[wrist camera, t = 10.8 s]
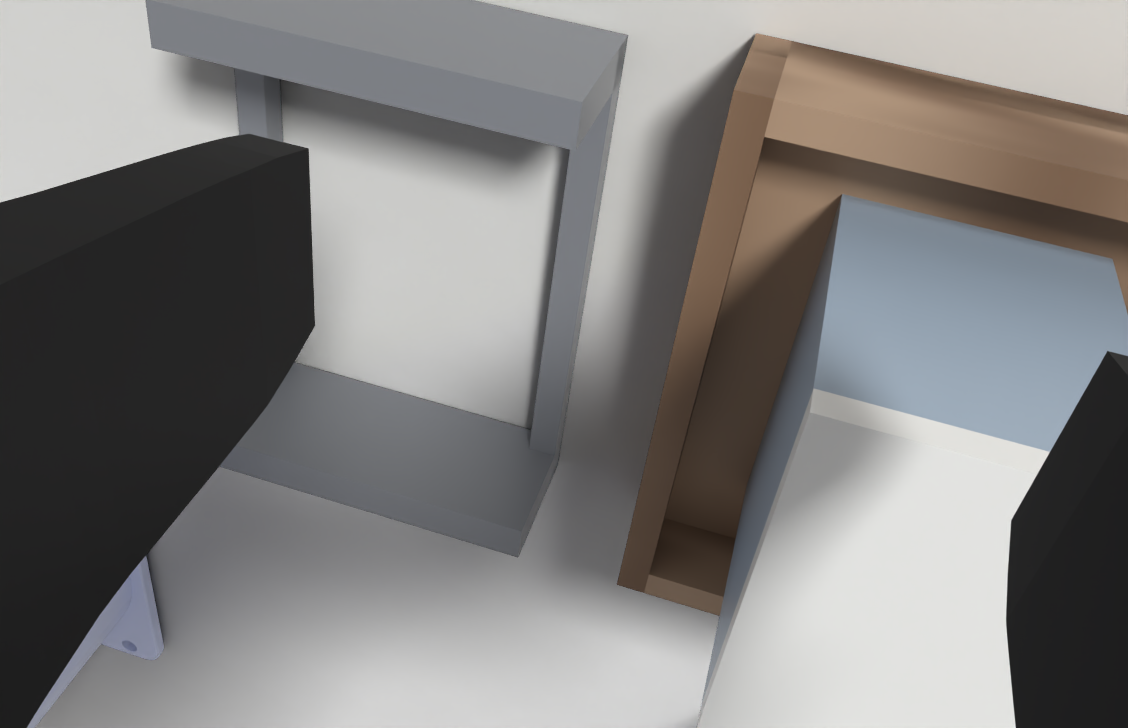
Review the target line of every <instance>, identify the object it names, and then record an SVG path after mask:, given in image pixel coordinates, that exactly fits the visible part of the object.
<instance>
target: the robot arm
mask: <svg viewBox="0 0 1128 728" xmlns="http://www.w3.org/2000/svg"><path fill="white" fill-rule="evenodd" d="M314 326H315V316H314V288H313V260H312V232H311V204H310V176H309V149H308V148H304V147H300V146H296V145H292V144H288V143H284V142H280V141H276V140H272V139H268V138H264V137H260V136H256V135H253V134H244V135H238V136H233V137H227V138H223V139H218V140H214V141H210V142H206V143H202V144H198V145H195V146H191V147H187V148H184V149H180V150H177V151H173V152H170V153H166V154H163V155H160V156H156V157H153V158H150V159H146V160H143V161H140V162H136V163H133V164H130V165H126V166H123V167H120V168H117V169H113V170H110V171H107V172H103V173H100V174H97V175H93V176H90V177H87V178H83V179H80V180H77V181H74V182H70V183H67V184H64V185H60V186H57V187H54V188H50V189H47V190H44V191H40V192H37V193H34V194H30V195H27V196H23V197H19V198H15V199H12V200H8V201H4V202H1V203H0V728H35V727H36V726H37V724H38V723H39V722H40V721H41V719H42V718H43V717H44V715H45V714H46V713H47V712H48V710H49V709H50V708H51V707H52V705H53V704H54V703H55V701H56V700H57V699H58V698H59V696H60V695H61V694H62V693H63V691H64V690H65V689H66V688H67V686H68V685H69V684H70V682H71V681H72V680H73V679H74V677H75V676H76V675H77V674H78V672H79V671H80V670H81V669H82V667H83V666H84V665H85V663H86V662H87V661H88V660H89V658H90V657H91V656H92V655H93V653H94V652H95V651H96V650H97V648H98V647H99V646H100V644H102V645H105V646H108V647H111V648H114V649H117V650H120V651H123V652H126V653H129V654H132V655H135V656H138V657H140V658H143V659H147V660H156V659H157V658H158V657H159V656H160V654H161V653H162V652H163V650H164V644H163V639H162V634H161V629H160V624H159V619H158V613H157V608H156V603H155V598H154V593H153V588H152V583H151V578H150V573H149V568H148V562H147V557H146V555H147V554H148V552H149V551H150V550H151V549H152V547H153V546H154V545H155V544H156V543H157V541H158V540H159V539H160V538H161V536H162V535H163V534H164V533H165V532H166V530H167V529H168V528H169V527H170V525H171V524H172V523H173V522H174V521H175V519H176V518H177V517H178V516H179V515H180V513H181V512H182V511H183V510H184V508H185V507H186V506H187V505H188V504H189V502H190V501H191V500H192V499H193V497H194V496H195V495H196V494H197V493H198V491H199V490H200V489H201V488H202V487H203V485H204V484H205V483H206V482H207V480H208V479H209V478H210V477H211V476H212V474H213V473H214V472H215V471H216V470H217V468H218V467H219V466H220V465H221V463H222V462H223V461H224V460H225V458H226V457H227V456H228V455H229V453H230V452H231V451H232V450H233V448H234V447H235V446H236V445H237V444H238V442H239V441H240V440H241V439H242V437H243V436H244V435H245V434H246V432H247V431H248V430H249V429H250V427H251V426H252V425H253V424H254V422H255V421H256V420H257V418H258V417H259V416H260V415H261V413H262V412H263V411H264V409H265V408H266V407H267V406H268V404H269V403H270V401H271V399H272V398H273V396H274V394H275V393H276V391H277V390H278V388H279V386H280V385H281V383H282V382H283V380H284V378H285V377H286V375H287V373H288V372H289V370H290V369H291V367H292V365H293V363H294V361H295V360H296V358H297V356H298V354H299V353H300V351H301V349H302V347H303V346H304V344H305V342H306V340H307V339H308V337H309V335H310V333H311V332H312V330H313V328H314ZM1006 628H1007V641H1008V653H1009V663H1010V674H1011V685H1012V695H1013V706H1014V716H1015V726H1016V728H1128V356H1126V355H1122V354H1118V353H1114V352H1110V351H1107V353H1106V354H1105V356H1104V358H1103V360H1102V361H1101V363H1100V365H1099V367H1098V368H1097V370H1096V372H1095V374H1094V375H1093V377H1092V379H1091V381H1090V383H1089V384H1088V386H1087V388H1086V390H1085V391H1084V393H1083V395H1082V397H1081V398H1080V400H1079V402H1078V404H1077V405H1076V407H1075V409H1074V411H1073V412H1072V414H1071V416H1070V418H1069V419H1068V421H1067V423H1066V425H1065V426H1064V428H1063V430H1062V432H1061V433H1060V435H1059V437H1058V439H1057V441H1056V442H1055V444H1054V446H1053V448H1052V449H1051V451H1050V453H1049V455H1048V456H1047V458H1046V460H1045V462H1044V463H1043V465H1042V467H1041V469H1040V470H1039V472H1038V474H1037V476H1036V477H1035V479H1034V481H1033V483H1032V484H1031V486H1030V488H1029V490H1028V492H1027V493H1026V495H1025V497H1024V499H1023V500H1022V502H1021V504H1020V506H1019V507H1018V509H1017V511H1016V513H1015V514H1014V516H1013V518H1012V520H1011V531H1010V546H1009V561H1008V577H1007V605H1006Z"/></svg>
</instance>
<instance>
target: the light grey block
mask: <svg viewBox="0 0 1128 728" xmlns="http://www.w3.org/2000/svg"><path fill="white" fill-rule="evenodd" d="M1107 351H1110V352H1114V353H1118V354H1122V355H1126V356H1128V314H1127V310H1126V306H1125V303H1124V299H1123V295H1122V292H1121V288H1120V284H1119V281H1118V277H1117V273H1116V270H1115V266H1114V262H1113V259H1111V258H1107V257H1103V256H1098V255H1094V254H1090V253H1086V252H1082V251H1078V250H1073V249H1069V248H1065V247H1061V246H1057V245H1053V244H1049V243H1044V242H1040V241H1036V240H1032V239H1028V238H1024V237H1019V236H1015V235H1011V234H1007V233H1003V232H999V231H995V230H990V229H986V228H982V227H978V226H974V225H970V224H965V223H961V222H957V221H953V220H949V219H945V218H941V217H936V216H932V215H928V214H924V213H920V212H916V211H911V210H907V209H903V208H899V207H895V206H891V205H887V204H882V203H878V202H874V201H870V200H866V199H862V198H857V197H853V196H849V195H845V194H842V196H841V199H840V202H839V205H838V208H837V211H836V214H835V217H834V221H833V224H832V227H831V230H830V233H829V236H828V239H827V242H826V245H825V248H824V251H823V254H822V257H821V260H820V263H819V266H818V269H817V272H816V276H815V279H814V282H813V285H812V288H811V291H810V294H809V297H808V300H807V303H806V306H805V309H804V312H803V315H802V318H801V321H800V324H799V327H798V331H797V334H796V337H795V340H794V343H793V346H792V349H791V352H790V355H789V358H788V361H787V364H786V367H785V370H784V373H783V376H782V379H781V382H780V386H779V389H778V392H777V395H776V398H775V401H774V404H773V407H772V410H771V413H770V416H769V419H768V422H767V425H766V428H765V431H764V434H763V437H762V441H761V444H760V447H759V450H758V453H757V456H756V459H755V462H754V465H753V468H752V471H751V474H750V477H749V480H748V483H747V486H746V491H745V496H744V501H743V505H742V510H741V515H740V520H739V525H738V530H737V535H736V539H735V544H734V549H733V554H732V559H731V564H730V568H729V573H728V578H727V583H726V588H725V593H724V598H723V602H722V607H721V612H720V617H719V622H718V627H717V631H716V636H715V641H714V646H713V651H712V656H711V661H710V665H709V670H708V675H707V680H706V685H705V690H704V694H703V699H702V704H701V709H700V714H699V719H698V724H697V728H1016V726H1015V716H1014V706H1013V695H1012V685H1011V674H1010V663H1009V653H1008V641H1007V628H1006V605H1007V577H1008V561H1009V546H1010V531H1011V520H1012V518H1013V516H1014V514H1015V513H1016V511H1017V509H1018V507H1019V506H1020V504H1021V502H1022V500H1023V499H1024V497H1025V495H1026V493H1027V492H1028V490H1029V488H1030V486H1031V484H1032V483H1033V481H1034V479H1035V477H1036V476H1037V474H1038V472H1039V470H1040V469H1041V467H1042V465H1043V463H1044V462H1045V460H1046V458H1047V456H1048V455H1049V453H1050V451H1051V449H1052V448H1053V446H1054V444H1055V442H1056V441H1057V439H1058V437H1059V435H1060V433H1061V432H1062V430H1063V428H1064V426H1065V425H1066V423H1067V421H1068V419H1069V418H1070V416H1071V414H1072V412H1073V411H1074V409H1075V407H1076V405H1077V404H1078V402H1079V400H1080V398H1081V397H1082V395H1083V393H1084V391H1085V390H1086V388H1087V386H1088V384H1089V383H1090V381H1091V379H1092V377H1093V375H1094V374H1095V372H1096V370H1097V368H1098V367H1099V365H1100V363H1101V361H1102V360H1103V358H1104V356H1105V354H1106V353H1107Z"/></svg>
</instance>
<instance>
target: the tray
mask: <svg viewBox="0 0 1128 728" xmlns="http://www.w3.org/2000/svg"><path fill="white" fill-rule="evenodd" d="M842 194H845V195H849V196H853V197H857V198H862V199H866V200H870V201H874V202H878V203H882V204H887V205H891V206H895V207H899V208H903V209H907V210H911V211H916V212H920V213H924V214H928V215H932V216H936V217H941V218H945V219H949V220H953V221H957V222H961V223H965V224H970V225H974V226H978V227H982V228H986V229H990V230H995V231H999V232H1003V233H1007V234H1011V235H1015V236H1019V237H1024V238H1028V239H1032V240H1036V241H1040V242H1044V243H1049V244H1053V245H1057V246H1061V247H1065V248H1069V249H1073V250H1078V251H1082V252H1086V253H1090V254H1094V255H1098V256H1103V257H1107V258H1111V259H1113V262H1114V266H1115V270H1116V273H1117V277H1118V281H1119V284H1120V288H1121V292H1122V295H1123V299H1124V303H1125V306H1126V310H1127V314H1128V115H1123V114H1119V113H1114V112H1110V111H1105V110H1101V109H1096V108H1092V107H1087V106H1083V105H1078V104H1074V103H1069V102H1065V101H1060V100H1056V99H1051V98H1046V97H1042V96H1037V95H1033V94H1028V93H1024V92H1019V91H1015V90H1010V89H1006V88H1001V87H997V86H992V85H988V84H983V83H979V82H974V81H970V80H965V79H961V78H956V77H951V76H947V75H942V74H938V73H933V72H929V71H924V70H920V69H915V68H911V67H906V66H902V65H897V64H893V63H888V62H884V61H879V60H875V59H870V58H866V57H861V56H856V55H852V54H847V53H843V52H838V51H834V50H829V49H825V48H820V47H816V46H811V45H807V44H802V43H798V42H793V41H789V40H784V39H780V38H775V37H771V36H766V35H761V34H757V33H756V35H755V37H754V40H753V42H752V45H751V47H750V50H749V52H748V55H747V58H746V60H745V63H744V65H743V68H742V70H741V73H740V75H739V78H738V80H737V83H736V85H735V88H734V91H733V95H732V99H731V103H730V108H729V112H728V116H727V120H726V125H725V129H724V133H723V137H722V142H721V146H720V150H719V154H718V158H717V163H716V167H715V171H714V175H713V180H712V184H711V188H710V192H709V197H708V201H707V205H706V209H705V214H704V218H703V222H702V226H701V230H700V235H699V239H698V243H697V247H696V252H695V256H694V260H693V264H692V269H691V273H690V277H689V281H688V285H687V290H686V294H685V298H684V302H683V307H682V311H681V315H680V319H679V324H678V328H677V332H676V336H675V340H674V345H673V349H672V353H671V357H670V362H669V366H668V370H667V374H666V379H665V383H664V387H663V391H662V395H661V400H660V404H659V408H658V412H657V417H656V421H655V425H654V429H653V434H652V438H651V442H650V446H649V451H648V455H647V459H646V463H645V467H644V472H643V476H642V480H641V484H640V489H639V493H638V497H637V501H636V506H635V510H634V514H633V518H632V522H631V527H630V531H629V535H628V539H627V544H626V548H625V552H624V556H623V561H622V565H621V569H620V573H619V577H618V582H617V585H620V586H623V587H626V588H630V589H633V590H636V591H640V592H643V593H646V594H649V595H653V596H656V597H659V598H663V599H666V600H669V601H672V602H676V603H679V604H682V605H686V606H689V607H692V608H695V609H699V610H702V611H705V612H709V613H712V614H715V615H718V616H720V612H721V607H722V602H723V598H724V593H725V588H726V583H727V578H728V573H729V568H730V564H731V559H732V554H733V549H734V544H735V539H736V535H737V530H738V525H739V520H740V515H741V510H742V505H743V501H744V496H745V491H746V486H747V483H748V480H749V477H750V474H751V471H752V468H753V465H754V462H755V459H756V456H757V453H758V450H759V447H760V444H761V441H762V437H763V434H764V431H765V428H766V425H767V422H768V419H769V416H770V413H771V410H772V407H773V404H774V401H775V398H776V395H777V392H778V389H779V386H780V382H781V379H782V376H783V373H784V370H785V367H786V364H787V361H788V358H789V355H790V352H791V349H792V346H793V343H794V340H795V337H796V334H797V331H798V327H799V324H800V321H801V318H802V315H803V312H804V309H805V306H806V303H807V300H808V297H809V294H810V291H811V288H812V285H813V282H814V279H815V276H816V272H817V269H818V266H819V263H820V260H821V257H822V254H823V251H824V248H825V245H826V242H827V239H828V236H829V233H830V230H831V227H832V224H833V221H834V217H835V214H836V211H837V208H838V205H839V202H840V199H841V196H842Z"/></svg>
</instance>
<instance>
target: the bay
mask: <svg viewBox="0 0 1128 728" xmlns="http://www.w3.org/2000/svg"><path fill="white" fill-rule="evenodd" d="M146 8H147V16H148V23H149V31H150V38H151V46H152V48H155V49H159V50H163V51H167V52H171V53H175V54H179V55H184V56H188V57H192V58H196V59H200V60H204V61H208V62H212V63H216V64H220V65H225V66H229V67H233V68H234V72H235V85H236V97H237V109H238V122H239V134H240V135H244V134H253V135H256V136H260V137H264V138H268V139H272V140H276V141H280V142H283V132H282V113H281V94H280V79H282V80H286V81H290V82H294V83H298V84H303V85H307V86H311V87H315V88H319V89H323V90H327V91H331V92H335V93H339V94H344V95H348V96H352V97H356V98H360V99H364V100H368V101H372V102H376V103H380V104H385V105H389V106H393V107H397V108H401V109H405V110H409V111H413V112H417V113H422V114H426V115H430V116H434V117H438V118H442V119H446V120H450V121H454V122H458V123H463V124H467V125H471V126H475V127H479V128H483V129H487V130H491V131H495V132H499V133H504V134H508V135H512V136H516V137H520V138H524V139H528V140H532V141H536V142H541V143H545V144H549V145H553V146H557V147H561V148H565V149H569V150H570V154H569V161H568V168H567V176H566V183H565V190H564V197H563V205H562V212H561V219H560V227H559V234H558V241H557V248H556V256H555V263H554V270H553V278H552V285H551V292H550V299H549V307H548V314H547V321H546V329H545V336H544V343H543V350H542V358H541V365H540V372H539V380H538V387H537V394H536V401H535V409H534V416H533V423H532V430H529V429H526V428H522V427H519V426H515V425H512V424H508V423H505V422H501V421H498V420H494V419H491V418H487V417H484V416H480V415H477V414H473V413H470V412H466V411H463V410H459V409H456V408H452V407H449V406H445V405H442V404H438V403H435V402H431V401H428V400H424V399H421V398H417V397H414V396H410V395H407V394H403V393H400V392H396V391H393V390H389V389H386V388H382V387H379V386H375V385H372V384H368V383H365V382H361V381H358V380H354V379H351V378H347V377H344V376H340V375H337V374H333V373H330V372H326V371H323V370H319V369H316V368H312V367H309V366H305V365H302V364H298V363H295V361H294V363H293V365H292V367H291V369H290V370H289V372H288V373H287V375H286V377H285V378H284V380H283V382H282V383H281V385H280V386H279V388H278V390H277V391H276V393H275V394H274V396H273V398H272V399H271V401H270V403H269V404H268V406H267V407H266V408H265V409H264V411H263V412H262V413H261V415H260V416H259V417H258V418H257V420H256V421H255V422H254V424H253V425H252V426H251V427H250V429H249V430H248V431H247V432H246V434H245V435H244V436H243V437H242V439H241V440H240V441H239V442H238V444H237V445H236V446H235V447H234V448H233V450H232V451H231V452H230V453H229V455H228V456H227V457H226V458H225V460H224V461H223V462H222V463H221V465H220V467H223V468H226V469H229V470H233V471H236V472H239V473H243V474H246V475H249V476H252V477H256V478H259V479H262V480H266V481H269V482H272V483H275V484H279V485H282V486H285V487H289V488H292V489H295V490H298V491H302V492H305V493H308V494H312V495H315V496H318V497H321V498H325V499H328V500H331V501H335V502H338V503H341V504H344V505H348V506H351V507H354V508H358V509H361V510H364V511H367V512H371V513H374V514H377V515H380V516H384V517H387V518H390V519H394V520H397V521H400V522H403V523H407V524H410V525H413V526H417V527H420V528H423V529H426V530H430V531H433V532H436V533H440V534H443V535H446V536H449V537H453V538H456V539H459V540H463V541H466V542H469V543H472V544H476V545H479V546H482V547H486V548H489V549H492V550H495V551H499V552H502V553H505V554H509V555H512V556H515V557H519V554H520V552H521V550H522V547H523V545H524V543H525V540H526V538H527V536H528V533H529V531H530V528H531V526H532V524H533V521H534V519H535V517H536V514H537V512H538V510H539V507H540V505H541V503H542V500H543V498H544V496H545V493H546V491H547V489H548V486H549V484H550V482H551V479H552V477H553V475H554V472H555V470H556V468H557V465H558V461H559V455H560V449H561V443H562V437H563V431H564V424H565V418H566V412H567V406H568V400H569V394H570V388H571V382H572V375H573V369H574V363H575V357H576V351H577V345H578V339H579V333H580V326H581V320H582V314H583V308H584V302H585V296H586V290H587V284H588V277H589V271H590V265H591V259H592V253H593V247H594V241H595V235H596V228H597V222H598V216H599V210H600V204H601V198H602V192H603V186H604V180H605V173H606V167H607V161H608V155H609V149H610V143H611V137H612V131H613V124H614V118H615V112H616V106H617V100H618V94H619V88H620V82H621V75H622V69H623V63H624V57H625V51H626V45H627V39H628V35H625V34H621V33H616V32H612V31H607V30H603V29H599V28H594V27H590V26H585V25H581V24H576V23H572V22H568V21H563V20H559V19H554V18H550V17H545V16H541V15H536V14H532V13H528V12H523V11H519V10H514V9H510V8H505V7H501V6H497V5H492V4H488V3H483V2H479V1H474V0H146Z"/></svg>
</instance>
